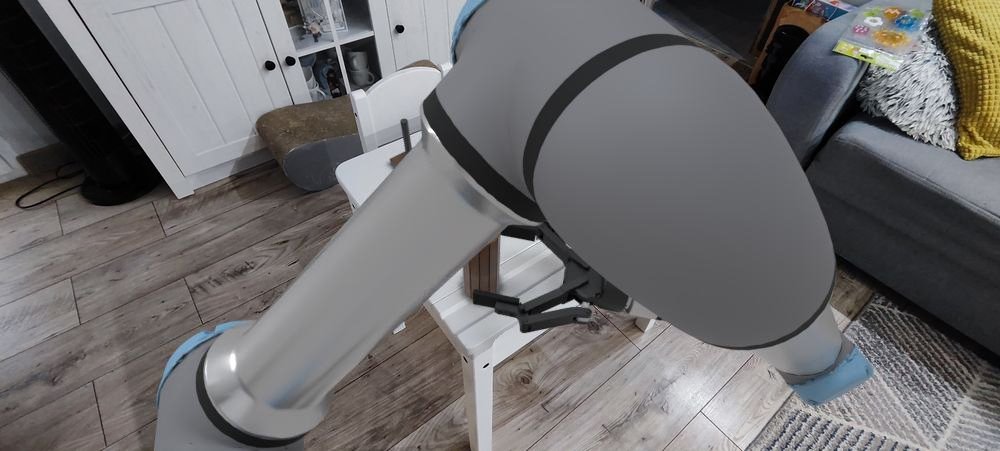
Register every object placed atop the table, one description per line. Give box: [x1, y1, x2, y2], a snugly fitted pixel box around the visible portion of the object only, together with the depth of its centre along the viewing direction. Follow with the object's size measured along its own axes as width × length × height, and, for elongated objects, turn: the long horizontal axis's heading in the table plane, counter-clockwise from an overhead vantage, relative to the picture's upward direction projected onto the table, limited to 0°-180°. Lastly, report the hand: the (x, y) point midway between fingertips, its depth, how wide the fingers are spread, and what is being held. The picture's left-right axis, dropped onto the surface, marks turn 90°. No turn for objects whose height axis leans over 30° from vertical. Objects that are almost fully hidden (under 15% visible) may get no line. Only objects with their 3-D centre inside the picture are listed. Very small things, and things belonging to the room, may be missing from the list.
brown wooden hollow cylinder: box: [462, 232, 502, 301], centre depth 69 cm, size 6×6×14 cm
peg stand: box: [389, 118, 413, 169], centre depth 90 cm, size 6×6×11 cm
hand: (485, 259), depth 69 cm, fingers open, 13 cm apart
